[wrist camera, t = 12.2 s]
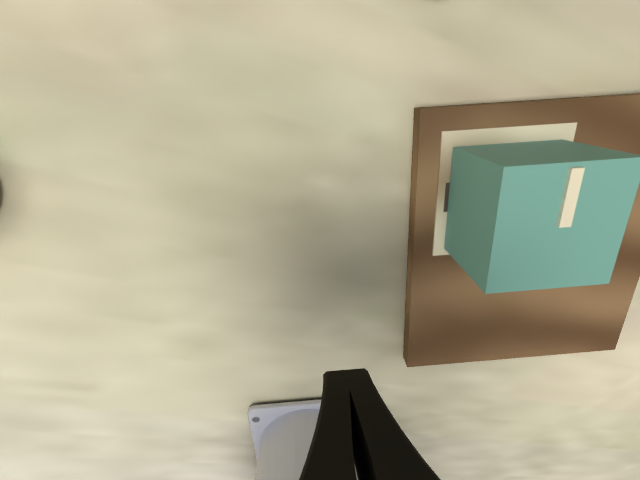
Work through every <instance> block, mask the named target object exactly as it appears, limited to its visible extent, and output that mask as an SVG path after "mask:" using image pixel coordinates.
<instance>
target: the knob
mask: <svg viewBox="0 0 640 480" xmlns="http://www.w3.org/2000/svg"><path fill="white" fill-rule="evenodd" d="M639 183H640V155H637V154H632V153H627V152H622V151H617V150H612V149H607V148H602V147H597V146H593V145H588V144H583V143H578V142H573V141H568V140H563V139H560V140H545V141H531V142H516V143H502V144H487V145H473V146H459V147H453V153H452V165H451V176H450V188H449V199H448V210H447V222H446V233H445V244H444V249H445V250H446V251H447V252H448V253H449V254H450V256H451V257H452V258H453V259H454V260H455V261H456V262H457V263H458V264H459V265H460V267H461V268H462V269H463V270H464V271H465V272H466V273H467V274H468V275H469V277H470V278H471V279H472V280H473V281H474V282H475V283H476V284H477V285H478V286H479V288H480V289H481V290H482V291H483V292H484V293H485V294H491V293H503V292H515V291H527V290H539V289H551V288H563V287H575V286H587V285H599V284H609V282H610V279H611V275H612V272H613V269H614V265H615V262H616V259H617V255H618V252H619V249H620V245H621V242H622V239H623V236H624V232H625V229H626V226H627V222H628V219H629V216H630V212H631V209H632V206H633V202H634V199H635V196H636V192H637V189H638V186H639Z"/></svg>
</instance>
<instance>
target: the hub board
mask: <svg viewBox="0 0 640 480" xmlns="http://www.w3.org/2000/svg"><path fill="white" fill-rule="evenodd" d="M560 139H563V140H568V141H573V142H578V143H583V144H588V145H593V146H597V147H602V148H607V149H612V150H617V151H622V152H627V153H632V154H637V155H640V93H637V94H622V95H606V96H591V97H575V98H560V99H544V100H529V101H513V102H498V103H482V104H467V105H451V106H436V107H420V108H414V129H413V152H412V174H411V197H410V219H409V241H408V264H407V286H406V309H405V331H404V354H403V357H404V360H405V362H406V365H407V367H415V366H426V365H438V364H450V363H462V362H473V361H485V360H497V359H509V358H520V357H532V356H544V355H556V354H567V353H579V352H591V351H603V350H614V349H615V347H616V344H617V341H618V339H619V336H620V333H621V330H622V327H623V324H624V321H625V318H626V315H627V312H628V309H629V306H630V303H631V300H632V297H633V294H634V291H635V288H636V285H637V282H638V279H639V276H640V183H639V186H638V189H637V192H636V196H635V199H634V202H633V206H632V209H631V212H630V216H629V219H628V222H627V226H626V229H625V232H624V236H623V239H622V242H621V245H620V249H619V252H618V255H617V259H616V262H615V265H614V269H613V272H612V275H611V279H610V282H609V284H599V285H587V286H575V287H563V288H551V289H539V290H527V291H515V292H503V293H491V294H485V293H484V292H483V291H482V290H481V289H480V288H479V286H478V285H477V284H476V283H475V282H474V281H473V280H472V279H471V278H470V277H469V275H468V274H467V273H466V272H465V271H464V270H463V269H462V268H461V267H460V265H459V264H458V263H457V262H456V261H455V260H454V259H453V258H452V257H451V256H450V254H449V253H448V252H447V251H446V250H445V249H444V244H445V233H446V222H447V210H448V199H449V188H450V176H451V165H452V153H453V147H459V146H473V145H487V144H502V143H516V142H531V141H545V140H560Z"/></svg>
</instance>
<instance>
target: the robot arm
mask: <svg viewBox="0 0 640 480" xmlns="http://www.w3.org/2000/svg"><path fill="white" fill-rule="evenodd" d="M256 417H257V418H256ZM248 418H249V423H250V429H251V434H252V439H253V444H254V450H255V455H256V460H257V470H256V479H255V480H440V479H439V477H438V476H437V475H436V474H435V473H434V471H433V470H432V469H431V468H430V467H429V465H428V464H427V463H426V462H425V460H424V459H423V458H422V457H421V455H420V454H419V453H418V451H417V450H416V449H415V447H414V446H413V445H412V443H411V442H410V441H409V439H408V438H407V436H406V435H405V434H404V432H403V431H402V429H401V428H400V426H399V425H398V423H397V422H396V420H395V419H394V417H393V416H392V414H391V413H390V411H389V410H388V408H387V406H386V405H385V403H384V401H383V400H382V398H381V396H380V395H379V393H378V391H377V389H376V387H375V385H374V384H373V382H372V380H371V377H370V375H369V373H368V371H367V370H366V369H364V368H363V369H351V370H339V371H327V372H326V373H325V374H323V393H322V399H320V400H308V401H297V402H285V403H274V404H262V405H253V406H251V407H250V408H249V409H248Z"/></svg>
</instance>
